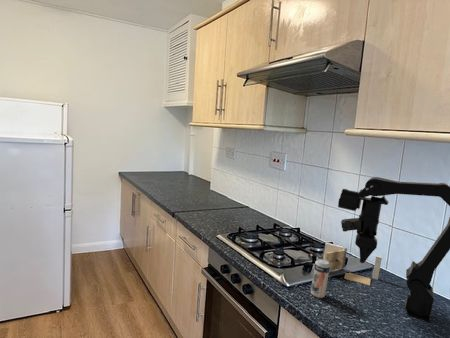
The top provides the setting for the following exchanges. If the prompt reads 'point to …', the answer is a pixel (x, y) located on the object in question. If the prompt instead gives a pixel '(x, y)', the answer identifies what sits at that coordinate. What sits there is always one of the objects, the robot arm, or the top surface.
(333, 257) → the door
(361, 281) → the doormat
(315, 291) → the beer can
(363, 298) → the top surface
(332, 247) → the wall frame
